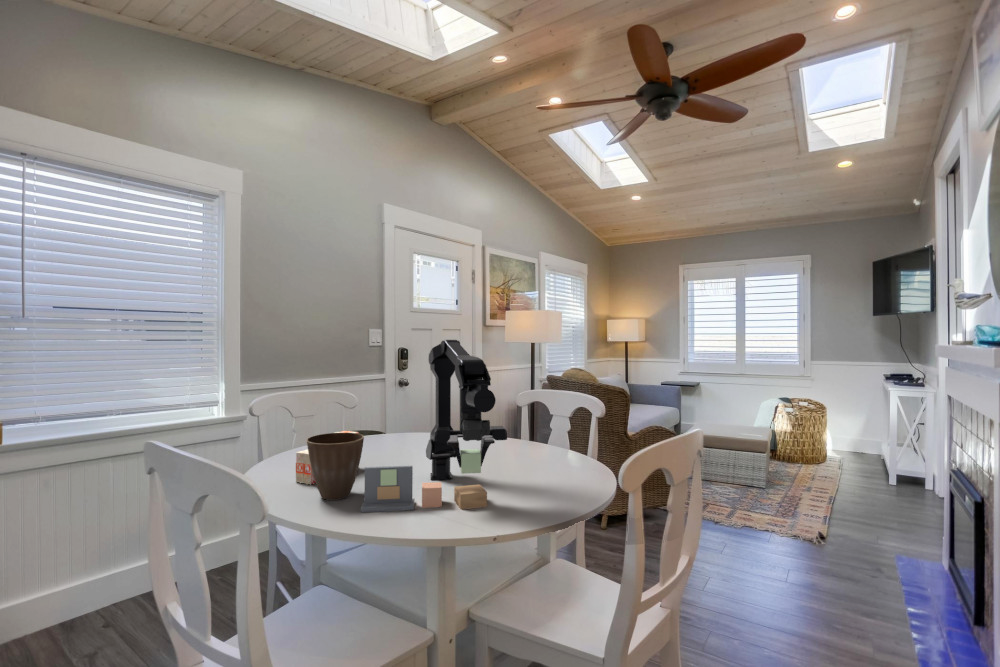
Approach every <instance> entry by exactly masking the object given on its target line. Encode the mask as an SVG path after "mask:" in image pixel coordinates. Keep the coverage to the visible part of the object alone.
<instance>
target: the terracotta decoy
mask: <svg viewBox="0 0 1000 667" xmlns="http://www.w3.org/2000/svg"><path fill="white" fill-rule="evenodd" d="M442 490H443V488H442V481H437V482H422V483H421V508H422V509H424V508H427V509H428V508H442V506H443V504H442V503H443V498H442V496H443V493H442V492H443V491H442Z"/></svg>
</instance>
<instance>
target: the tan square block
mask: <svg viewBox="0 0 1000 667" xmlns="http://www.w3.org/2000/svg"><path fill="white" fill-rule="evenodd" d="M453 493H454V496H453V497H454V498H453V499H454V500H453V502H455V504H456V506H457V507H458V508H459V510H467V509H468V510H469V509H477V508H478V509H479V508H486V507H488V491H487V490H486V489H485V488H484V487H483V486H482V485H481V484H469V485H468V484H467V485H457V486H456V485H455V486H454V489H453Z"/></svg>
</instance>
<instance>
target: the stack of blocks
mask: <svg viewBox="0 0 1000 667" xmlns="http://www.w3.org/2000/svg"><path fill="white" fill-rule="evenodd" d="M334 433H358V434H360V433H359V431H353V430H352V431H349V430H342V431H335V432H334ZM295 461H296V462H295V483H296V482H301V483H306V484H305V485H308V484H313V483H316V482H315V479H314V475H313V472H312V468H311V463H310V459H309V453H308V448H307V449H304V450H300V451H296V452H295ZM359 468H360V466H359V467H358V469H359ZM301 483H300V484H301ZM313 485H314V484H313Z"/></svg>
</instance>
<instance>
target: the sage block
mask: <svg viewBox="0 0 1000 667" xmlns="http://www.w3.org/2000/svg"><path fill="white" fill-rule="evenodd" d="M460 457H461V467H459V468H460V473H461V475H462V474H463V475H464V474H482V466H481V452H480V449H479V448H478V449H477V448H475V449H474V448H473V449H472V448H471V449H469V448H468V449H460Z"/></svg>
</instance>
